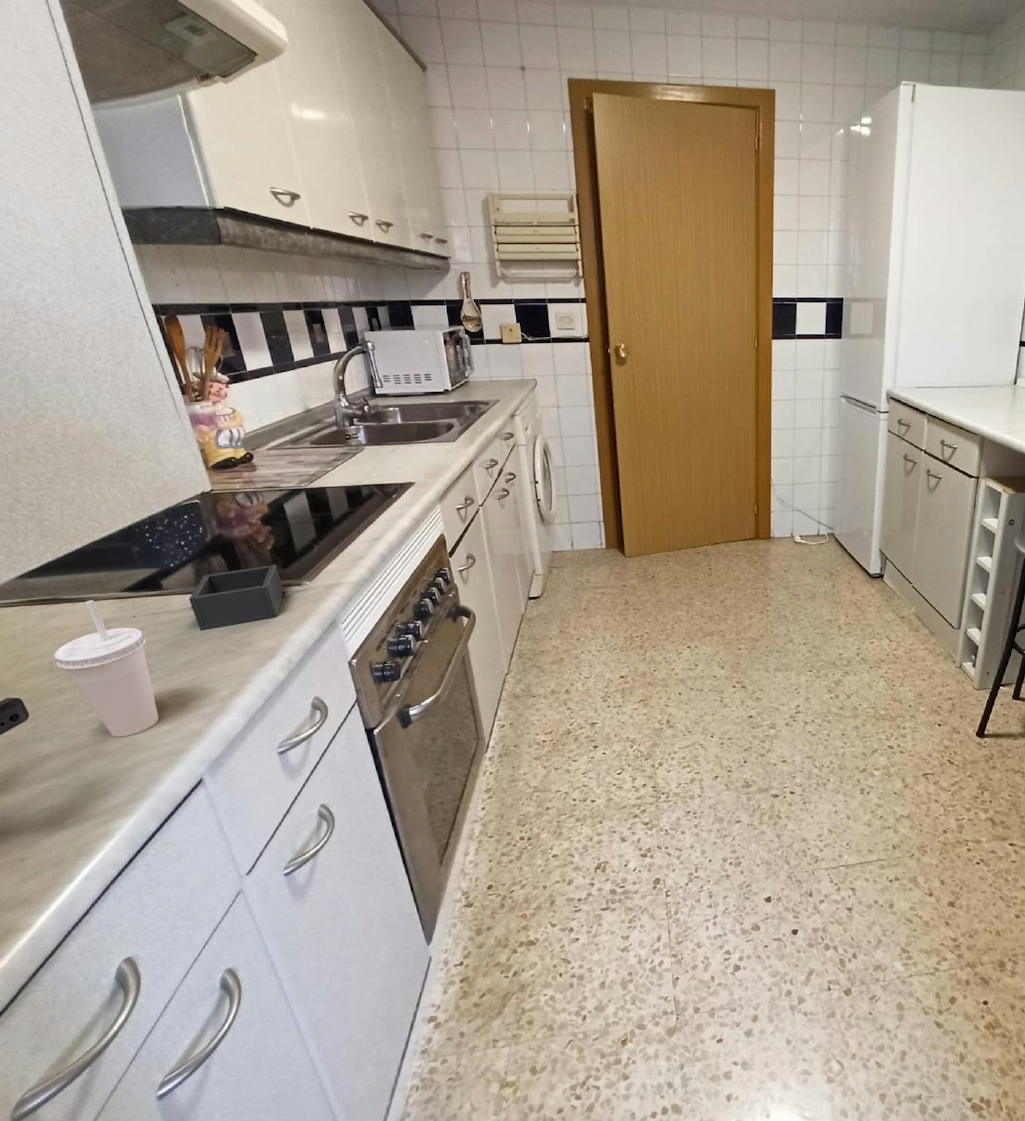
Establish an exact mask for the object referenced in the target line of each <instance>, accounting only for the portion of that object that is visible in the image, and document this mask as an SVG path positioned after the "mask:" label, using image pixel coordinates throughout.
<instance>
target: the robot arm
mask: <svg viewBox="0 0 1025 1121" xmlns="http://www.w3.org/2000/svg"><path fill="white" fill-rule="evenodd" d="M29 717H30V713H29V711H28V709H27V707H26V705H25V703H24V701H23V699H22V698H20V697H5V698H3V699H2V700H0V736H2V735H3V734H5V733H7V732H9V731H11V730H13V729H14V728H16V727H18V726H20V725H21V724H23V723H25V722H26V721H27V720H28V719H29Z"/></svg>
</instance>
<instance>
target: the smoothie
mask: <svg viewBox="0 0 1025 1121" xmlns="http://www.w3.org/2000/svg"><path fill="white" fill-rule="evenodd" d="M85 605H86V607H87V610H88V612H89V614H90V617H91V618H92V621H93V623H94V626H95V628H96V630H97V632H92V633H89V634H86V635H84V636H80V637H77V638H76V639H73V640H71V641H69V642H67V643H65V644H63V645H62V646H60V647H59V648H58V649H56V651H55V652H54V654H53V656H54V660H55V661H56V666H57V667H59V668H61V669H63V670H64V669H65V671H66V672H67V674H68V675H69V677H70V679H71V680H72V682H74V684H75V685H76V687H77V688H78V689H79V691H80V692H81V693H82V695H83V696H84V698H85V700H87V702H88V703H89V705H90V707H91V708H92V709H93V710H94V712H95V713H96V715H97V716H98V718H99V719H100V720H101V722H102V723H103V724H104V726H105V727H106V729H107V730H108V732H109V733H110V735H111V736H113V737H118V738H119V737H128V736H132V735H136V734H139V733H141V732H143V731H146V730H148V729H149V728H151V727H152V726H154V725H155V724H156V723H158V721H159V715H158V710H157V705H156V701H155V697H154V692H153V687H152V682H151V677H150V673H149V667H148V664H147V663H148V662H147V658H146V654H145V650H144V645H145V644H146V638H145V637H144V635H143V632H142V631H141V630H140V629H138V628H133V627H119V628H112V629H106V627H105V624H104V622H103V620H102V618H101V615H100V613H99V610H98V608H97V606H96V603H95V600H93V599H91V600H86V601H85Z"/></svg>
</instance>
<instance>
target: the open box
mask: <svg viewBox="0 0 1025 1121" xmlns="http://www.w3.org/2000/svg"><path fill="white" fill-rule="evenodd" d="M284 596H285V591H284V587H283V583H282V580H281V577H280V573H279V571H278V567H277V564H272V565H264V566H258V567H252V568H245V569H239V570H238V569H237V570H232V571H226V572H218V573H217V572H216V573H210V574H204V575H203V576H202V578H201V579H200V581H199V582H198V584H197V586H196V587H195V589H194V591H192V594H191V595H190V597H189V598H188V600H189V603H190V605H191V609H192V611H193V614H194V617H195V619H196V623H197V624H198V628H199V630H200V631H205V630H210V629H215V628H221V627H226V626H233V625H239V624H244V623H249V622H256V621H261V620H267V619H272V618H273V619H274V618H277V617H278V614H279V611H280V608H281V604H282V602H283V599H284Z"/></svg>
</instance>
